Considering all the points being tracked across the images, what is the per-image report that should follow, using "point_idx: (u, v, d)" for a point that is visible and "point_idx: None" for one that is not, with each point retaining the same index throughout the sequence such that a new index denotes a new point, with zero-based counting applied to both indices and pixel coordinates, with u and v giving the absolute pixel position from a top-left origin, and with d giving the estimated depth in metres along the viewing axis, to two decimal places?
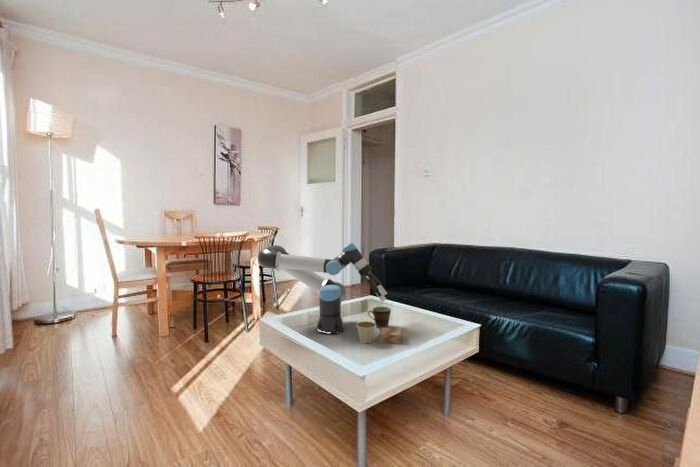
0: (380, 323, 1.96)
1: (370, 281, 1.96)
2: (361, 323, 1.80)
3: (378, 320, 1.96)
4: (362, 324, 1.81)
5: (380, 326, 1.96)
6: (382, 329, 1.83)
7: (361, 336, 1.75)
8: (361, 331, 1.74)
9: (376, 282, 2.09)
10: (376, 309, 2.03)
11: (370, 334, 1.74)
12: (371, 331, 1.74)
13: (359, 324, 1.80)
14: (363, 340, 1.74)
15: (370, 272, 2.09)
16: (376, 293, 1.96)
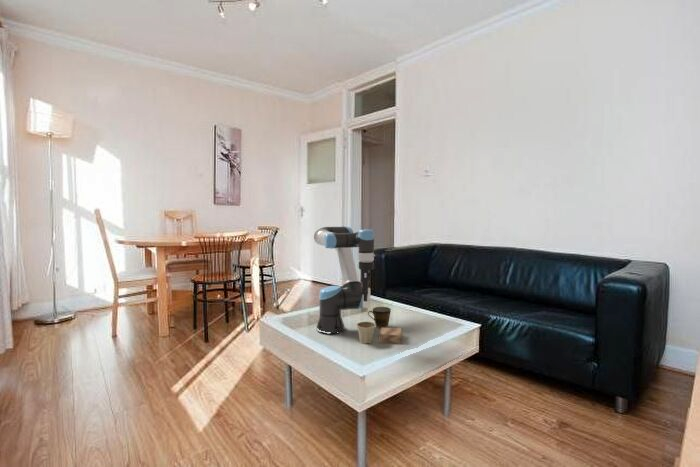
0: (380, 323, 1.96)
1: (365, 281, 1.68)
2: (361, 323, 1.80)
3: (378, 320, 1.96)
4: (362, 324, 1.81)
5: (380, 326, 1.96)
6: (382, 329, 1.83)
7: (361, 336, 1.75)
8: (361, 331, 1.74)
9: (367, 283, 1.81)
10: (376, 309, 2.03)
11: (370, 334, 1.74)
12: (371, 331, 1.74)
13: (359, 324, 1.80)
14: (363, 340, 1.74)
15: (369, 270, 1.81)
16: (363, 296, 1.69)
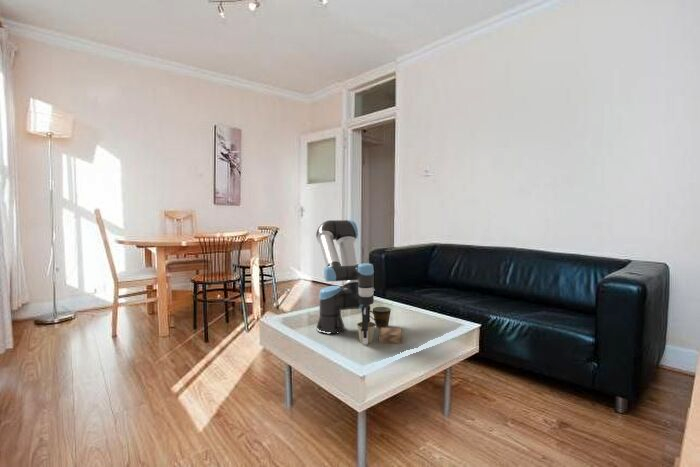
0: (380, 323, 1.96)
1: (365, 318, 1.70)
2: (361, 323, 1.80)
3: (378, 320, 1.96)
4: None
5: (380, 326, 1.96)
6: (382, 329, 1.83)
7: (361, 336, 1.75)
8: (361, 331, 1.74)
9: (367, 319, 1.80)
10: (376, 309, 2.03)
11: (370, 334, 1.74)
12: (371, 331, 1.74)
13: (359, 324, 1.80)
14: None
15: (368, 304, 1.82)
16: (362, 332, 1.72)
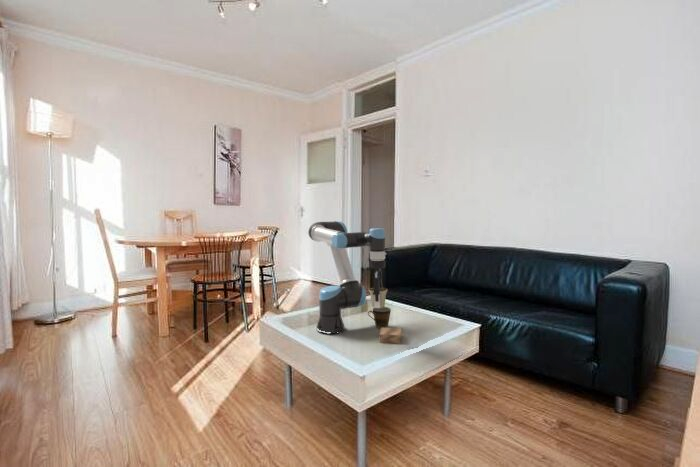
0: (380, 323, 1.96)
1: (376, 281, 1.69)
2: (373, 289, 1.80)
3: (378, 320, 1.96)
4: None
5: (380, 326, 1.96)
6: (382, 329, 1.83)
7: (373, 300, 1.74)
8: (373, 295, 1.73)
9: (379, 285, 1.80)
10: (376, 309, 2.03)
11: (382, 298, 1.73)
12: (383, 295, 1.73)
13: (371, 289, 1.79)
14: None
15: (380, 270, 1.81)
16: (374, 296, 1.72)
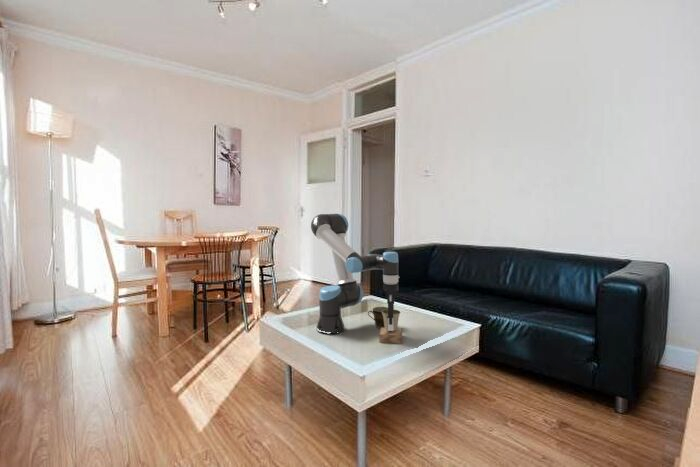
0: (380, 323, 1.96)
1: (390, 305, 1.72)
2: (386, 311, 1.83)
3: (378, 320, 1.96)
4: (386, 312, 1.83)
5: (380, 326, 1.96)
6: (382, 329, 1.83)
7: (386, 323, 1.77)
8: (387, 318, 1.77)
9: None
10: (376, 309, 2.03)
11: (395, 321, 1.77)
12: (396, 318, 1.77)
13: (384, 311, 1.82)
14: None
15: (392, 292, 1.84)
16: (388, 319, 1.75)
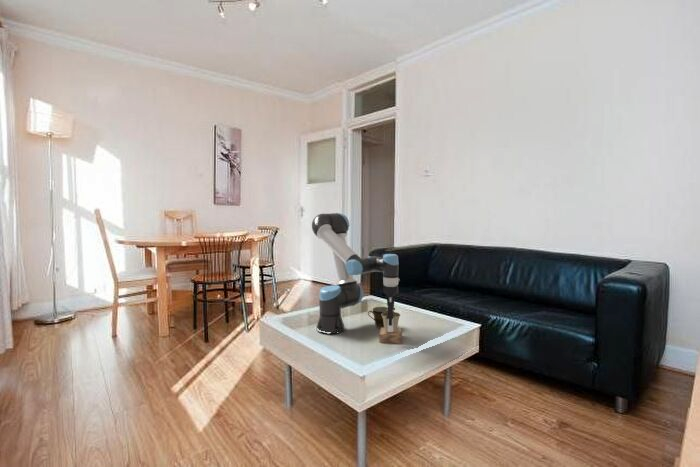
0: (380, 323, 1.96)
1: (390, 305, 1.72)
2: (385, 313, 1.83)
3: (378, 320, 1.96)
4: (386, 314, 1.84)
5: (380, 326, 1.96)
6: (382, 329, 1.83)
7: (386, 325, 1.78)
8: (387, 321, 1.77)
9: None
10: (376, 309, 2.03)
11: (395, 323, 1.77)
12: (396, 321, 1.77)
13: (384, 314, 1.83)
14: None
15: (392, 293, 1.85)
16: (388, 320, 1.73)
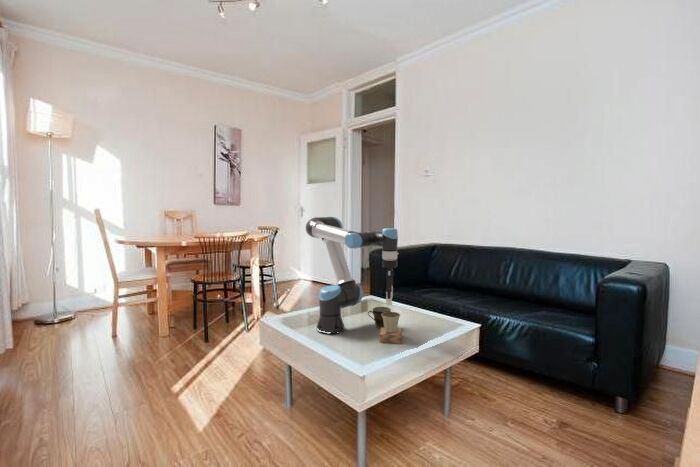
0: (380, 323, 1.96)
1: (389, 278, 1.72)
2: (385, 313, 1.83)
3: (378, 320, 1.96)
4: (386, 314, 1.84)
5: (380, 326, 1.96)
6: (382, 329, 1.83)
7: (386, 325, 1.78)
8: (387, 321, 1.77)
9: None
10: (376, 309, 2.03)
11: (395, 323, 1.77)
12: (396, 321, 1.77)
13: (383, 314, 1.83)
14: (388, 330, 1.77)
15: (391, 268, 1.85)
16: (386, 293, 1.73)
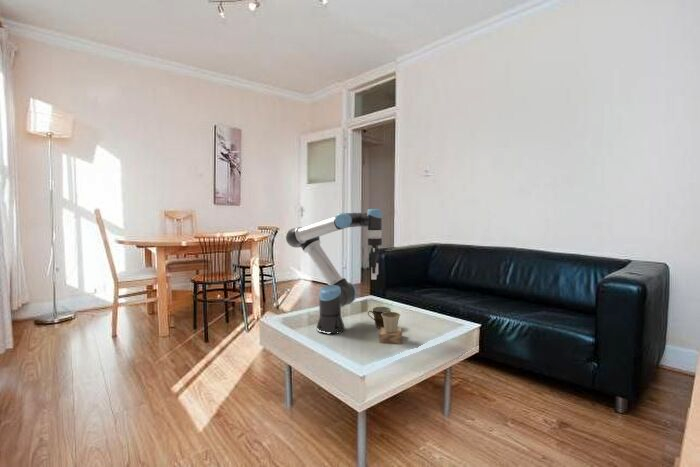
0: (380, 323, 1.96)
1: (374, 255, 1.85)
2: (385, 313, 1.83)
3: (378, 320, 1.96)
4: (386, 314, 1.84)
5: (380, 326, 1.96)
6: (382, 329, 1.83)
7: (386, 325, 1.78)
8: (387, 321, 1.77)
9: (376, 259, 1.99)
10: (376, 309, 2.03)
11: (395, 323, 1.77)
12: (396, 321, 1.77)
13: (383, 314, 1.83)
14: (388, 330, 1.77)
15: (377, 247, 1.98)
16: (371, 268, 1.86)
